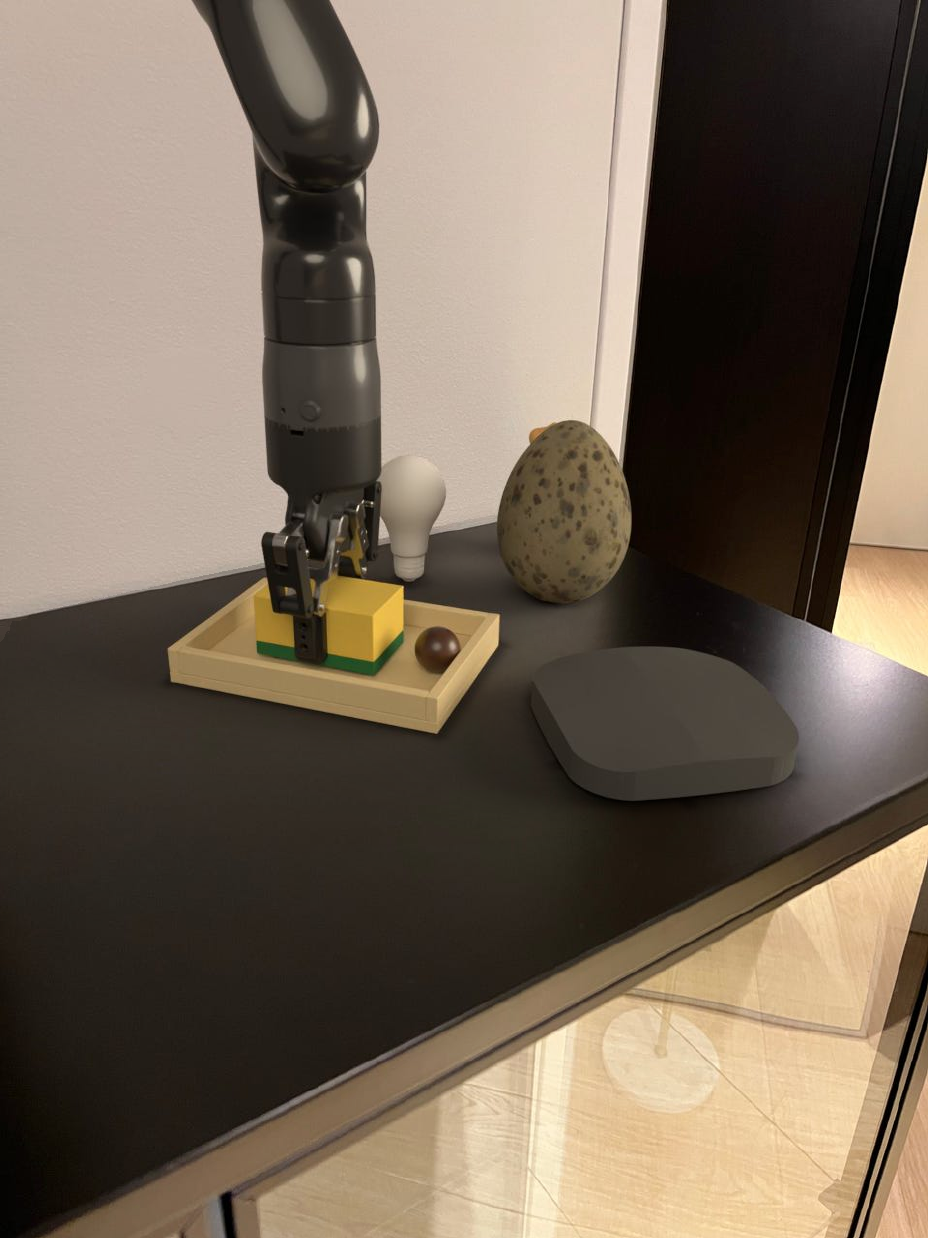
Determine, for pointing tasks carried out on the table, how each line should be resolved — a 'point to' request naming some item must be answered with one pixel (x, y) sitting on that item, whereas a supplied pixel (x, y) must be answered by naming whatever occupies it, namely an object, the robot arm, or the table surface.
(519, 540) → the decorative egg
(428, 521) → the lightbulb
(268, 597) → the sponge
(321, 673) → the tray
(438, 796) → the table surface
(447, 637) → the ball
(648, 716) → the media streaming box
